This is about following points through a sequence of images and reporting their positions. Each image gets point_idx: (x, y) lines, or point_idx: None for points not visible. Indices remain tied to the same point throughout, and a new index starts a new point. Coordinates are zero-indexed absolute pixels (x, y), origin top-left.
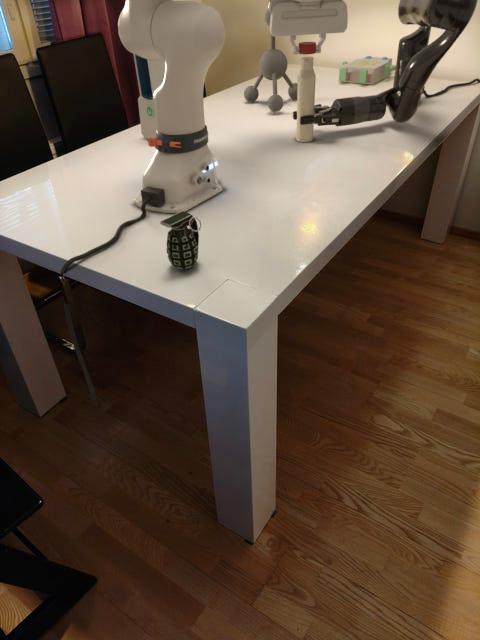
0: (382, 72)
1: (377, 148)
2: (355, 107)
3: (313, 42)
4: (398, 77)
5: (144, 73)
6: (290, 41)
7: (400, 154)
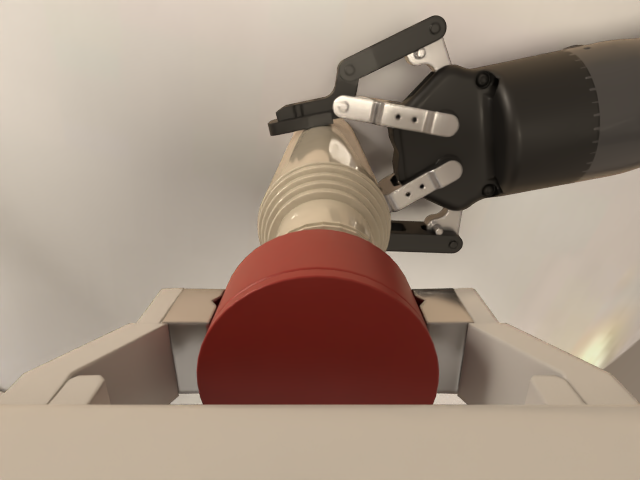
0: None
1: (538, 290)
2: (577, 181)
3: (410, 369)
4: None
5: None
6: (60, 357)
7: (575, 348)
